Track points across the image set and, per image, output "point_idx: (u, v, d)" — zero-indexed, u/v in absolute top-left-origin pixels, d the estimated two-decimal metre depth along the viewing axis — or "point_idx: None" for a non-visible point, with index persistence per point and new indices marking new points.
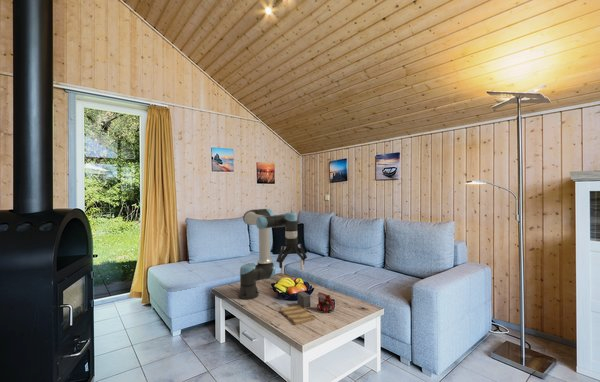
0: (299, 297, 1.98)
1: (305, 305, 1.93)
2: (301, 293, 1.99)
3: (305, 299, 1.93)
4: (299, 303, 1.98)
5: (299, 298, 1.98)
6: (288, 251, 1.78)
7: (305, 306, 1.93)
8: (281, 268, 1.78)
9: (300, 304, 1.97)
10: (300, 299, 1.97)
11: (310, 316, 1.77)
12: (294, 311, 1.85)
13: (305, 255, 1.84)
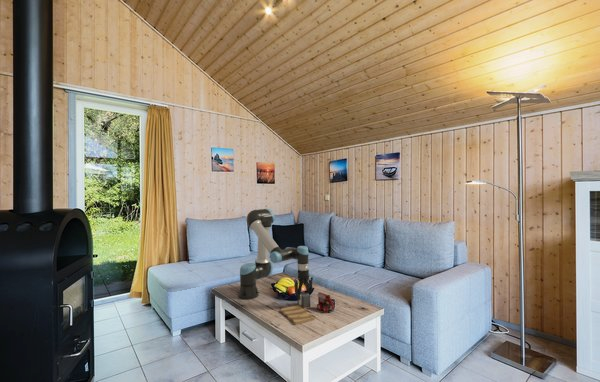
0: None
1: (305, 305, 1.93)
2: (301, 293, 1.99)
3: (305, 299, 1.93)
4: None
5: None
6: (301, 283, 1.95)
7: (305, 306, 1.93)
8: (299, 300, 1.96)
9: None
10: None
11: (310, 316, 1.77)
12: (294, 311, 1.85)
13: (311, 288, 1.99)
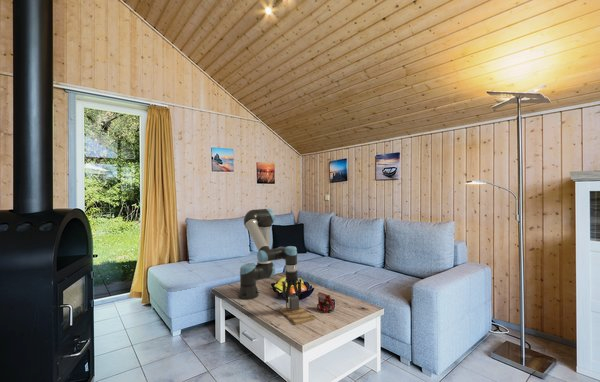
0: None
1: (293, 308, 1.84)
2: (289, 295, 1.90)
3: (293, 302, 1.84)
4: None
5: None
6: (289, 285, 1.86)
7: (293, 309, 1.84)
8: None
9: None
10: None
11: (310, 316, 1.77)
12: None
13: (300, 291, 1.90)
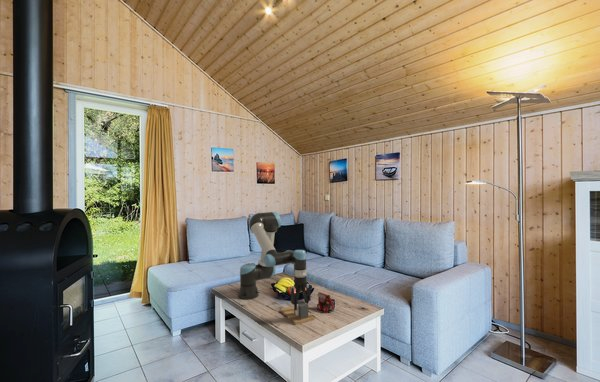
0: None
1: (302, 316, 1.73)
2: (298, 302, 1.79)
3: (302, 309, 1.73)
4: None
5: None
6: (298, 291, 1.75)
7: (302, 317, 1.73)
8: (296, 310, 1.76)
9: None
10: None
11: (310, 316, 1.77)
12: None
13: (309, 297, 1.79)
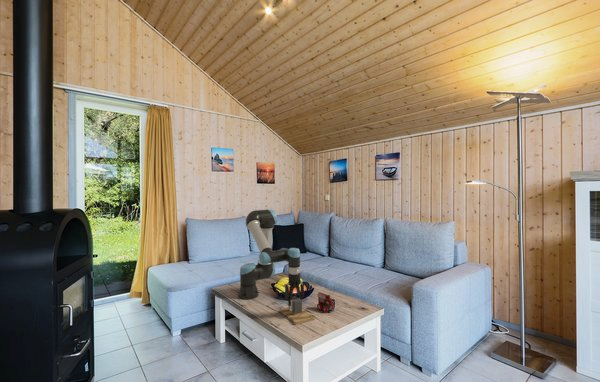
0: None
1: (296, 311, 1.80)
2: (292, 298, 1.86)
3: (296, 304, 1.80)
4: None
5: None
6: (292, 287, 1.82)
7: (296, 312, 1.80)
8: (290, 305, 1.83)
9: None
10: None
11: (310, 316, 1.77)
12: None
13: (303, 293, 1.86)
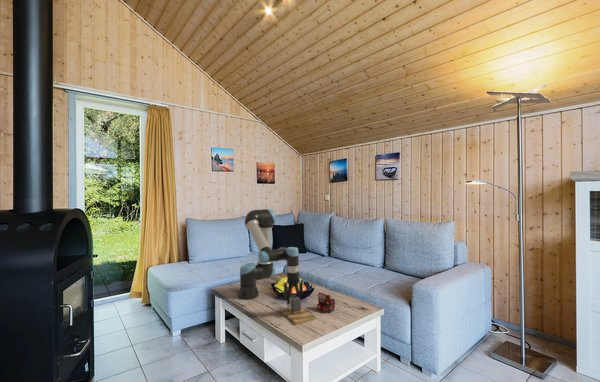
0: None
1: (295, 309, 1.81)
2: (291, 296, 1.88)
3: (295, 303, 1.82)
4: None
5: None
6: (291, 286, 1.84)
7: (295, 310, 1.81)
8: (289, 304, 1.85)
9: None
10: None
11: (310, 316, 1.77)
12: None
13: (302, 292, 1.88)
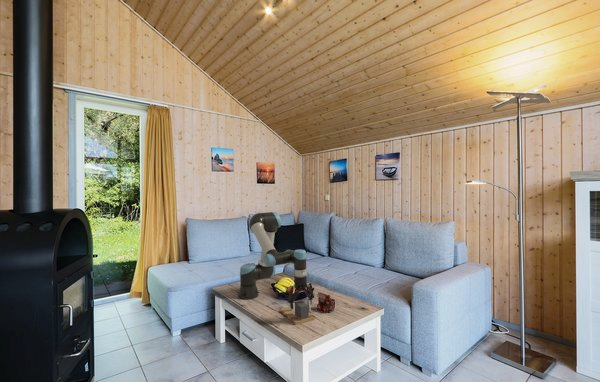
0: (296, 307, 1.77)
1: (303, 316, 1.72)
2: (298, 302, 1.78)
3: (303, 309, 1.72)
4: (296, 314, 1.77)
5: (296, 308, 1.77)
6: (297, 290, 1.74)
7: (303, 317, 1.72)
8: (292, 308, 1.75)
9: (297, 315, 1.76)
10: (297, 309, 1.76)
11: (310, 316, 1.77)
12: None
13: (313, 294, 1.80)
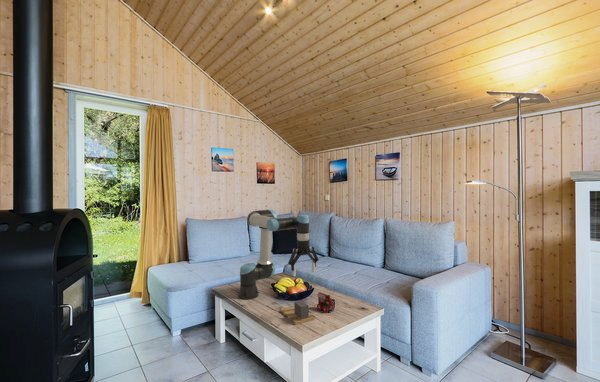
0: (296, 307, 1.77)
1: (303, 316, 1.72)
2: (298, 302, 1.78)
3: (303, 309, 1.72)
4: (296, 314, 1.77)
5: (296, 308, 1.77)
6: (300, 253, 1.76)
7: (303, 317, 1.72)
8: (293, 271, 1.76)
9: (297, 315, 1.76)
10: (297, 309, 1.76)
11: (310, 316, 1.77)
12: (294, 311, 1.85)
13: (317, 257, 1.82)
